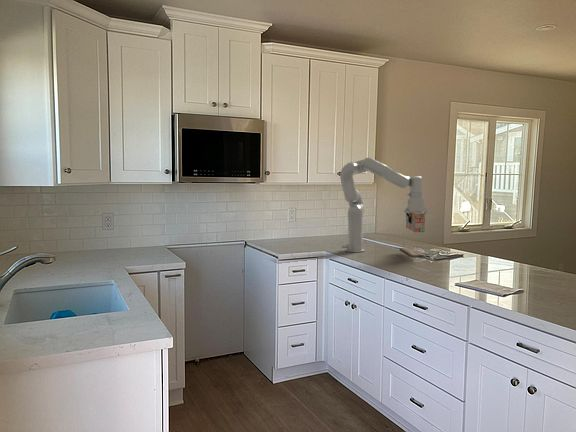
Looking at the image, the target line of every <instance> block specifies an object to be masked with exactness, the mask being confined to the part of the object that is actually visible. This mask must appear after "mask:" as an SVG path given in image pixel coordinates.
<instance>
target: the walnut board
mask: <svg viewBox="0 0 576 432" xmlns="http://www.w3.org/2000/svg"><path fill="white" fill-rule="evenodd" d="M414 249H417V250H422V248H420V247H418V246H417V247H400V251H402V252H404V253H405V254H407V255H408V256H410V257H411V258H423V257H422V256H424V255H425V254H421V253H417V252H415V251H413V250H414Z"/></svg>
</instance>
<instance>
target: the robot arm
mask: <svg viewBox="0 0 576 432" xmlns="http://www.w3.org/2000/svg"><path fill="white" fill-rule="evenodd" d="M365 172H366V173H367V172H370V173H371V174H374V175H375V176H377V177H379V178H381V179H383V180H385V181H388V182H390V183H391V184H393V185H395V186H396V187H399V188H402V189H404V188H409V193H407V196H408V199H407V207H406V208H405V209H404V210H403V213H404V214H405V216H406V215H407V216H408V222H409V223H411V221H412V217H411V215H412V212H423V213H425V215H426V214H427V213H428V210H427V208H425V202H424V201H425V200H424V197H423V178H422V176H419V175H417V176H416V175H415V176H413V175H412V176H407V175H403V174H402V173H399V172H397V171H395V170H393V169H392V168H391V167H390V166H388V165H386V164H384V163H382V162H381V161H378V160H376V159H375V158H373V157H369V156H368V157H365V158H364V159H361V160H357V161H353V162H352V161H351V162H347V163H346V164H345V165H344V166H343V167H342V168H341V170H340V173H339V174H340V175H339V177H340V178H339V179H340V183H341V187H342V192H343V195H344V199H345V201H346V202H347V203H348V206H349V207H348V210H347V221H348V223H347V224H348V227H347V228H348V230H347V233H348V235H347V236H348V243H347V244H342V245H341V249H345V251H346V252H349V253H362V252H366V249H365V248H364V247H363V243H364V242H363V233H364V232H363V229H364V227H363V225H364V224H363V214H364V213H365V207H364V203H363V199H362V195H361V193H360V191H359V190H358V189H357V188H356V185H355V180H354V175H358V174H362V173H365Z"/></svg>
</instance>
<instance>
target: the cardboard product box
mask: <svg viewBox="0 0 576 432" xmlns="http://www.w3.org/2000/svg"><path fill="white" fill-rule="evenodd" d="M411 217H412V221H411V223H409V222H408V216H407V215H406V214H405V223H406V224H405V225H406V226H405V227H406V229H408V230H409V231H412V232H414V233H425V227H426V226H425V221H426V214H425V213H423V212H412V215H411Z"/></svg>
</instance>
